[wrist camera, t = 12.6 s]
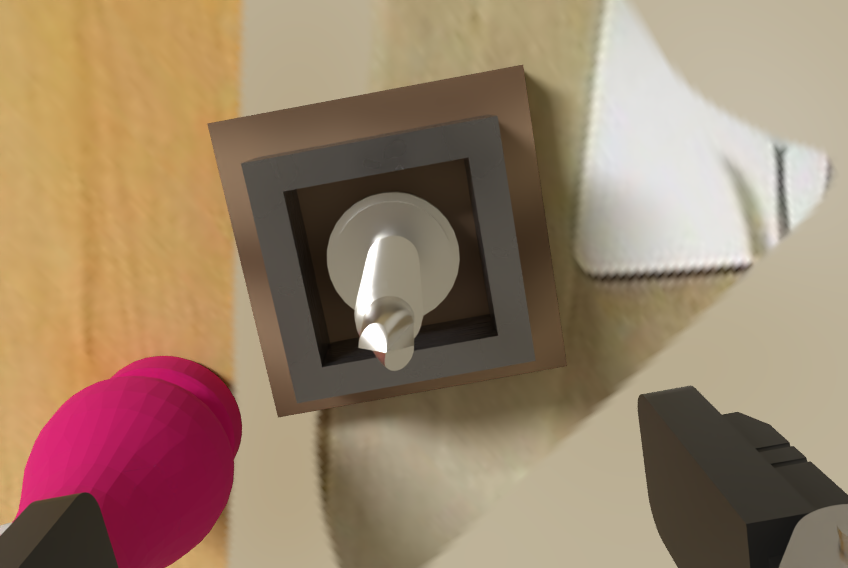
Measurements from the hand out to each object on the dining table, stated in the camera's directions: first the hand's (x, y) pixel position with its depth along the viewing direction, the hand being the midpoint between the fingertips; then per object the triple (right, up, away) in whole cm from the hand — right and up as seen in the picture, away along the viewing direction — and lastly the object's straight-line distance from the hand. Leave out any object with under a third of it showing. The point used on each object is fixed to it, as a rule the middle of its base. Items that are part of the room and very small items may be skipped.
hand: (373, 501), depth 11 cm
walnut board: (0, +5, +21) cm, 21 cm away
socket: (0, +5, +19) cm, 20 cm away
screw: (0, +5, +19) cm, 20 cm away
